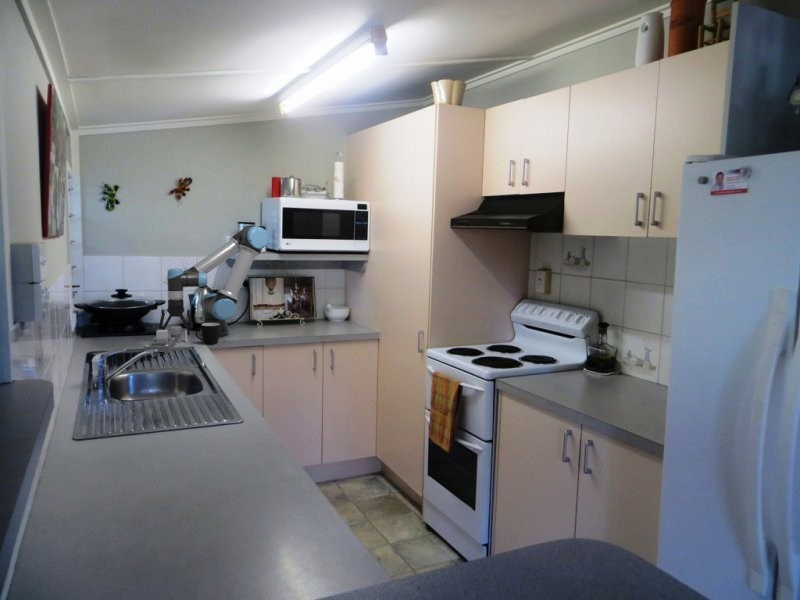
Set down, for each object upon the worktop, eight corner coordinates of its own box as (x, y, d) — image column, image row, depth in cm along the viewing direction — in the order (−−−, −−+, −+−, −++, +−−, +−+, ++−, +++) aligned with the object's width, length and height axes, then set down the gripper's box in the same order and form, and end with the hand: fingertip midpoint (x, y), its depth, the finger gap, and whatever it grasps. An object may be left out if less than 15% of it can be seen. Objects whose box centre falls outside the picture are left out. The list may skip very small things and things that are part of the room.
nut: (182, 341, 309) (181, 326, 308) (180, 343, 305) (180, 327, 304) (172, 341, 308) (172, 326, 307) (170, 343, 304) (170, 327, 303)
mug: (221, 342, 310) (221, 322, 309) (218, 345, 301) (218, 325, 300) (197, 341, 309) (197, 322, 307) (193, 345, 300) (193, 325, 299)
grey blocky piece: (175, 344, 301) (175, 328, 300) (168, 352, 281) (168, 336, 280) (152, 344, 299) (152, 329, 298) (144, 353, 279) (143, 336, 278)
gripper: (199, 298, 310) (199, 340, 312) (154, 297, 305) (155, 340, 308) (197, 299, 302) (197, 342, 305) (151, 299, 298) (152, 343, 301)
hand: (176, 341), depth 307 cm, fingers open, 9 cm apart
